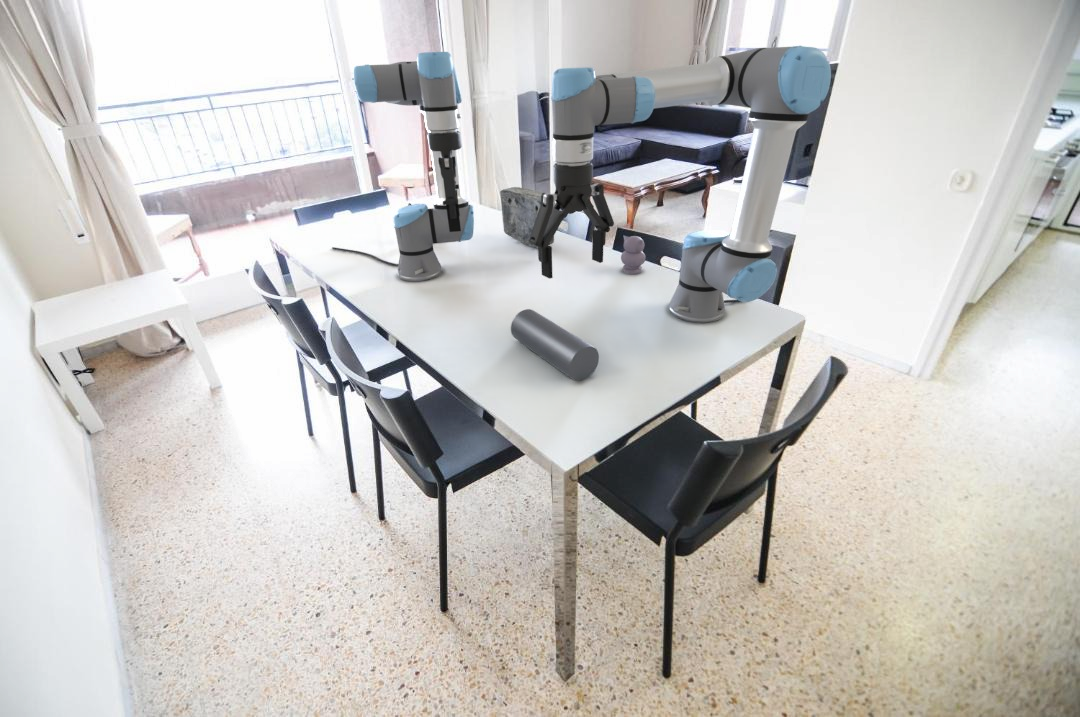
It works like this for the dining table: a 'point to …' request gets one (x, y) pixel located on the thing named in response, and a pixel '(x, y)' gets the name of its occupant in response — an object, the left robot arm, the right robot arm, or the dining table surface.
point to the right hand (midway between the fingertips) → (573, 268)
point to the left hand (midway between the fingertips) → (454, 223)
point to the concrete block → (520, 212)
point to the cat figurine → (633, 254)
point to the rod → (555, 344)
